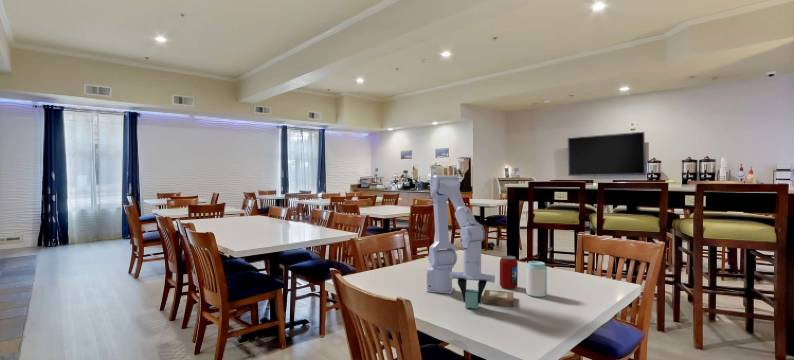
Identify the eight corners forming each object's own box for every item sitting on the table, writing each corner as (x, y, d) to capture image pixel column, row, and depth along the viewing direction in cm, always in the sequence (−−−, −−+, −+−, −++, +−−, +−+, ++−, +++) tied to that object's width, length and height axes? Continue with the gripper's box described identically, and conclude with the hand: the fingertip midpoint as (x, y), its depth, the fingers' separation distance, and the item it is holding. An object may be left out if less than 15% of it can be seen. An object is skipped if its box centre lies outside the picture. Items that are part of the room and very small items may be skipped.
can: (523, 295, 142) (523, 262, 141) (531, 291, 147) (531, 259, 147) (541, 299, 137) (542, 265, 137) (549, 295, 142) (549, 262, 142)
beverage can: (518, 290, 147) (518, 259, 147) (500, 289, 149) (500, 258, 149) (516, 285, 154) (516, 255, 154) (499, 284, 155) (499, 254, 155)
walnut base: (482, 303, 132) (482, 297, 132) (485, 295, 141) (485, 289, 141) (513, 306, 129) (513, 300, 129) (513, 297, 138) (513, 291, 138)
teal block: (465, 307, 127) (465, 292, 127) (466, 303, 131) (466, 289, 131) (477, 308, 126) (477, 293, 125) (478, 304, 129) (478, 290, 129)
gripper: (448, 262, 126) (448, 303, 126) (494, 265, 122) (493, 308, 122) (452, 257, 133) (451, 296, 133) (495, 260, 129) (495, 301, 129)
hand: (472, 301), depth 128 cm, fingers closed on teal block, 4 cm apart
